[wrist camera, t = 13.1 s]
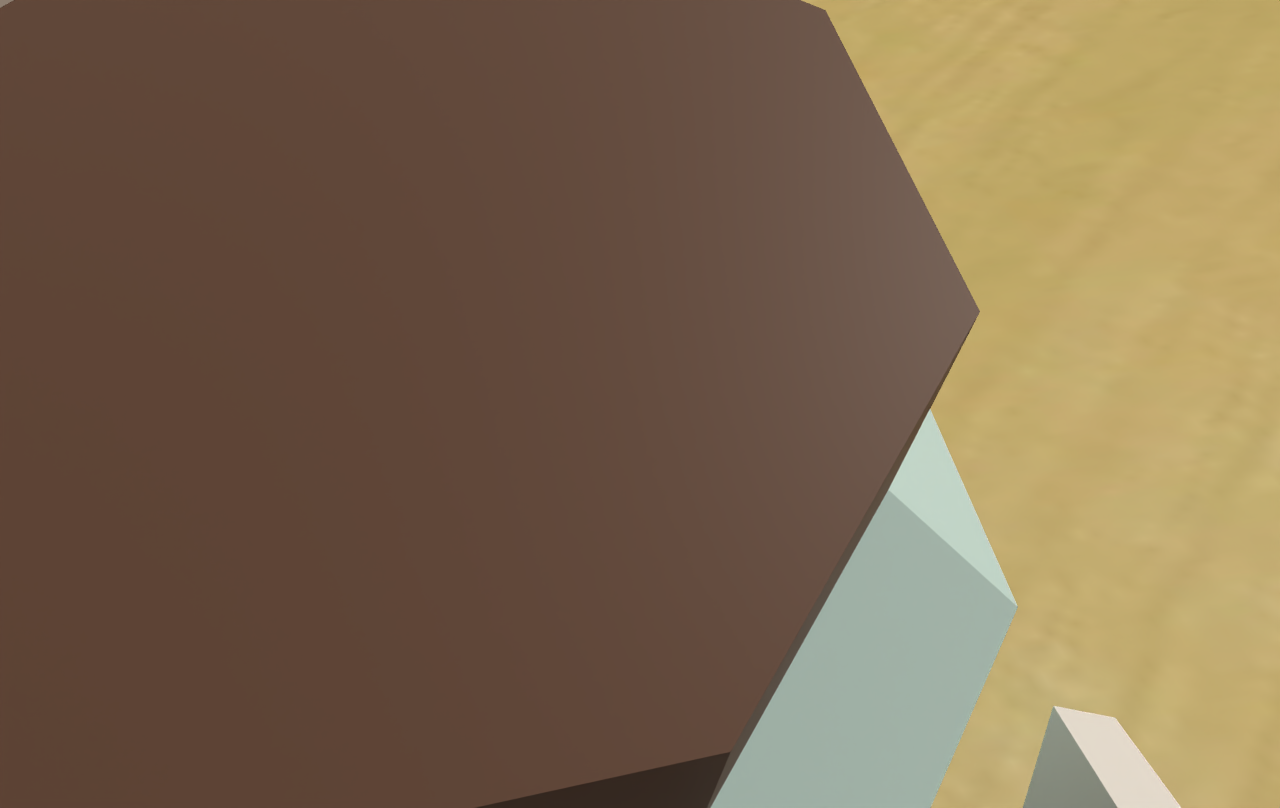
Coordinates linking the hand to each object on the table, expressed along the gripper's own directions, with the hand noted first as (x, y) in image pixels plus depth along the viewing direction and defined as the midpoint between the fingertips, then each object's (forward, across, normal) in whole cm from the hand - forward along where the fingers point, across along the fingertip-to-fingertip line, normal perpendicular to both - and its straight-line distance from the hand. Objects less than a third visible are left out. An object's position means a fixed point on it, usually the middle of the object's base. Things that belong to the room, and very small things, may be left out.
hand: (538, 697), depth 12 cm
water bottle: (+12, 0, -11) cm, 17 cm away
